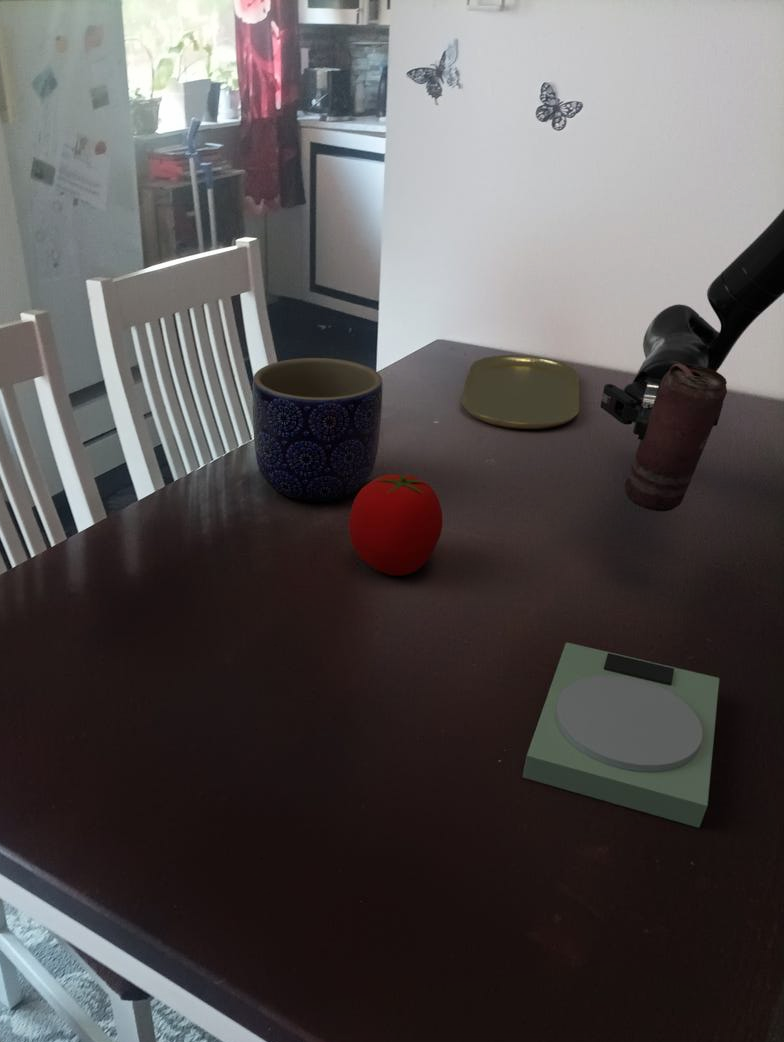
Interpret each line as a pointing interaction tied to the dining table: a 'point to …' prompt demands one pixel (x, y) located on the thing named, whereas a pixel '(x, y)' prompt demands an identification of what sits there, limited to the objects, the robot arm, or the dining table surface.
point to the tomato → (395, 523)
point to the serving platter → (521, 392)
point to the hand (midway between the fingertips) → (648, 431)
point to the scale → (627, 734)
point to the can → (675, 436)
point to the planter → (316, 426)
